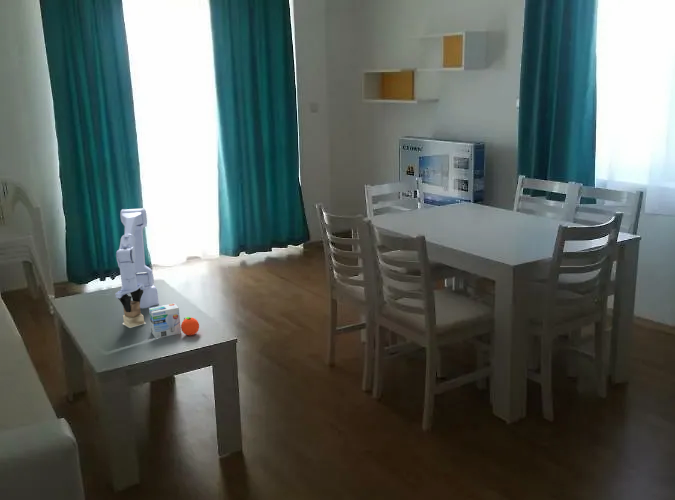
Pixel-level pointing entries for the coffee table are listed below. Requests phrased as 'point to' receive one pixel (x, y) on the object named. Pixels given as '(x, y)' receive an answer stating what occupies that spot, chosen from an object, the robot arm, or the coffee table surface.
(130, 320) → the cream square block
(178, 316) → the light bulb box
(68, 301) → the coffee table surface
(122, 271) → the robot arm
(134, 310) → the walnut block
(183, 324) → the clementine
